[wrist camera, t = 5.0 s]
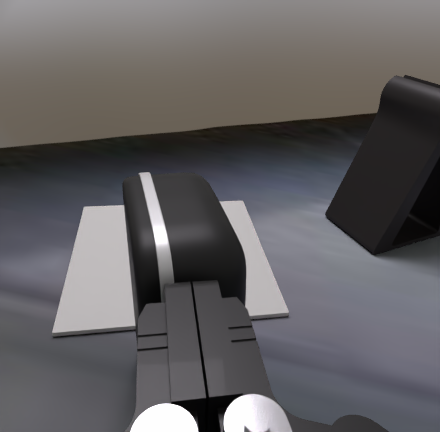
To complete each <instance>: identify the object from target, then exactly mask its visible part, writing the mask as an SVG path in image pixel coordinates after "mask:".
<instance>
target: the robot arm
mask: <svg viewBox="0 0 440 432" xmlns="http://www.w3.org/2000/svg"><path fill="white" fill-rule="evenodd" d="M125 432H388V431H387V430H386V429H384V428H383V427H382V426H380V425H379V424H377V423H376V422H374V421H373V420H371V419H368V418H366V417H363V416H359V415H347V416H343V417H341V418H339V419H338V420H336V421H335V422H334V423H333V425H327V424H322V423H318V422H313V421H308V420H304V419H301V418H298V417H296V416H294V415H292V414H290V413H289V412H287V411H286V410H285V409H284V408H283V407H282V406H281V405H280V404H279V403H278V402H277V401H276V399H275V397H274V396H273V394H272V391H271V388H270V385H269V381H268V378H267V374H266V371H265V367H264V364H263V360H262V357H261V354H260V350H259V347H258V343H257V341H256V336H255V333H254V330H253V328H252V323H251V319H250V316H249V312H248V310H247V308H246V307H245V306H244V305H243V304H242V303H241V301H240V300H239V299H238V298H237V297H230V298H222V297H221V293H220V288H219V284H218V281H217V280H209V281H194V282H192V284H190V282H181V283H166V284H165V302H164V303H151V304H146V305H145V307H144V309H143V311H142V313H141V314H140V316H139V318H138V345H137V384H136V409H135V414H134V417H133V419H132V421H131V423H130V425H129V426H128V428H127V429H126V430H125Z"/></svg>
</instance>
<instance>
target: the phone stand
mask: <svg viewBox="0 0 440 432" xmlns="http://www.w3.org/2000/svg"><path fill="white" fill-rule="evenodd" d="M325 215H326V217H328V218H329V219H330V220H331V221H333V222H334V223H335V224H336V225H338V226H339V227H340V228H341V229H343V230H344V231H345V232H346V233H348V234H349V235H350V236H352V237H353V238H354V239H355V240H357V241H358V242H359V243H360V244H362V245H363V246H364V247H365V248H367V249H368V250H369V251H370V252H372V253H373V254H374V255H376V254H379V253H383V252H386V251H389V250H393V249H396V248H399V247H403V246H406V245H410V244H412V243H413V242H415V243H416V242H420V241H423V240H426V239H430V238H433V237H436V236H440V85H438V84H435V83H431V82H428V81H424V80H421V79H417V78H414V77H411V76H407V75H405V76H404V78H403V77H400V76H394V77H393V78H392V79H391V80H390V81H389V82H388V83H387V84H386V86H385V87H384V89H383V91H382V94H381V98H380V105H379V109H378V112H377V115H376V117H375V119H374V121H373V123H372V125H371V127H370V129H369V131H368V133H367V135H366V137H365V139H364V140H363V142H362V144H361V146H360V148H359V150H358V152H357V154H356V156H355V158H354V160H353V162H352V163H351V165H350V167H349V169H348V171H347V173H346V175H345V177H344V179H343V181H342V183H341V184H340V186H339V188H338V190H337V192H336V194H335V196H334V198H333V200H332V202H331V204H330V206H329V207H328V209H327V211H326V213H325Z"/></svg>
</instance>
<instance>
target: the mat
mask: <svg viewBox="0 0 440 432" xmlns="http://www.w3.org/2000/svg"><path fill="white" fill-rule="evenodd" d="M220 204H221V206H222V207H223V209H224V211H225V213H226V215H227V217H228V219H229V221H230V223H231V225H232V227H233V229H234V231H235V233H236V235H237V237H238V239H239V241H240V243H241V245H242V248H243V251H244V254H245V259H246V302H245V307H246V308H247V310H248V312H249V316H250V319H260V318H271V317H283V316H288V315H289V311H288V309H287V306H286V304H285V302H284V299H283V297H282V294H281V292H280V290H279V287H278V285H277V282H276V280H275V277H274V275H273V273H272V270H271V268H270V265H269V263H268V260H267V258H266V256H265V253H264V251H263V248H262V246H261V244H260V241H259V239H258V236H257V234H256V231H255V229H254V227H253V224H252V222H251V219H250V217H249V215H248V212H247V210H246V207H245V205H244V202H243V201H223V202H220ZM134 329H136V327H135V317H134V306H133V296H132V285H131V275H130V264H129V254H128V243H127V233H126V222H125V211H124V205H119V206H93V207H84V209H83V213H82V217H81V221H80V225H79V229H78V233H77V237H76V241H75V245H74V249H73V253H72V257H71V261H70V264H69V268H68V272H67V276H66V280H65V284H64V288H63V292H62V296H61V300H60V304H59V308H58V312H57V316H56V320H55V324H54V327H53V331H52V334H53V337H54V336H65V335H77V334H88V333H100V332H111V331H123V330H134Z"/></svg>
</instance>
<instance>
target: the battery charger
mask: <svg viewBox="0 0 440 432" xmlns="http://www.w3.org/2000/svg"><path fill="white" fill-rule="evenodd" d="M123 200H124V211H125V222H126V233H127V243H128V254H129V264H130V275H131V285H132V296H133V306H134V317H135V327H136V338H137V345H138V318H139V316H140V314H141V313H142V311H143V309H144V307H145V305H146V304H151V303H164V302H165V284H166V283H181V282H190V284H192V282H194V281H209V280H217V281H218V284H219V288H220V293H221V297H222V298H230V297H237V298H238V299H239V300H240V301H241V303H242V304H243V305H244V306H245V302H246V259H245V254H244V251H243V248H242V245H241V243H240V241H239V239H238V237H237V235H236V233H235V231H234V229H233V227H232V225H231V223H230V221H229V219H228V217H227V215H226V213H225V211H224V209H223V207H222V206H221V204H220V202H219V200H218V198H217V197H216V195H215V193H214V191H213V190H212V188H211V186H210V184H209V183H208V182H207V181H206V180H205V179H204V178H203V177H202V176H200V175H198V174H195V173H171V174H158V175H150V173H149V172H147V173H139V175H138V176H132V177H127V178H126V179H124V181H123Z"/></svg>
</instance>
